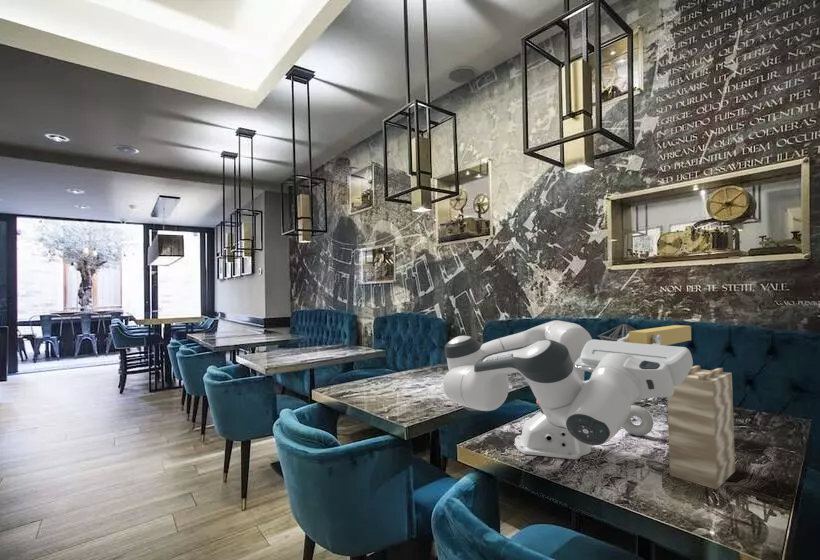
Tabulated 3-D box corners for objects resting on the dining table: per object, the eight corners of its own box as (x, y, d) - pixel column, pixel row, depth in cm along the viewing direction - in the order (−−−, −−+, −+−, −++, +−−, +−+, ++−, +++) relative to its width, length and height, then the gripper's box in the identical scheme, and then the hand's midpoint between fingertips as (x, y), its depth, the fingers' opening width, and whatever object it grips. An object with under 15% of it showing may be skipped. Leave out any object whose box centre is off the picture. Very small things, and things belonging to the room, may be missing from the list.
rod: (646, 349, 84) (646, 332, 84) (629, 347, 87) (628, 331, 87) (691, 340, 100) (690, 325, 100) (675, 338, 103) (674, 325, 103)
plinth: (716, 489, 98) (712, 377, 99) (669, 475, 106) (666, 371, 107) (735, 471, 108) (731, 369, 109) (691, 459, 116) (688, 364, 117)
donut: (618, 433, 137) (618, 404, 137) (621, 431, 140) (620, 401, 140) (653, 440, 131) (652, 409, 131) (654, 437, 133) (653, 406, 134)
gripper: (575, 380, 89) (601, 344, 97) (682, 398, 73) (703, 353, 81) (567, 356, 87) (594, 322, 95) (674, 370, 71) (696, 327, 79)
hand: (645, 336), depth 88 cm, fingers closed on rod, 3 cm apart
